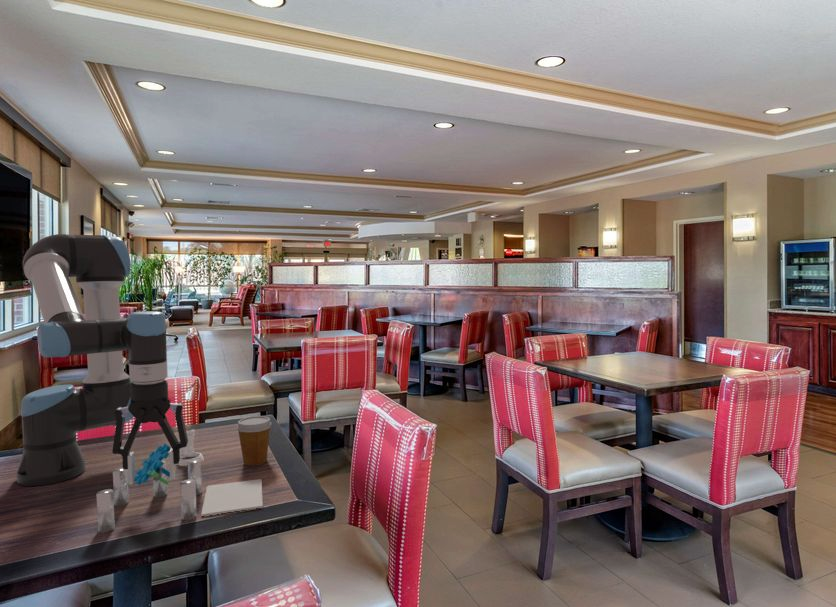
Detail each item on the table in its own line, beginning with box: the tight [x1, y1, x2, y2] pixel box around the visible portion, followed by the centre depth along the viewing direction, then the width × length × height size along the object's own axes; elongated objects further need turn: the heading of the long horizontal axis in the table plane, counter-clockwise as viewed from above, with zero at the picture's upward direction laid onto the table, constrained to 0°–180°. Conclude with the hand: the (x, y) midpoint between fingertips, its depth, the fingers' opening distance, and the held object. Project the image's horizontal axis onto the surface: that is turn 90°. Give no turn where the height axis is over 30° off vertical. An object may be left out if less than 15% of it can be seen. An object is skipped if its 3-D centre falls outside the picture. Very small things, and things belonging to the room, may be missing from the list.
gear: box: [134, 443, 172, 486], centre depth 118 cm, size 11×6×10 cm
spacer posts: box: [96, 459, 203, 534], centre depth 118 cm, size 19×18×8 cm
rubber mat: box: [200, 478, 264, 517], centre depth 123 cm, size 13×16×1 cm
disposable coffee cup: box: [236, 415, 272, 467], centre depth 146 cm, size 10×10×12 cm
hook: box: [175, 429, 205, 467], centre depth 146 cm, size 8×12×7 cm
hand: (152, 479), depth 117 cm, fingers closed on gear, 8 cm apart
